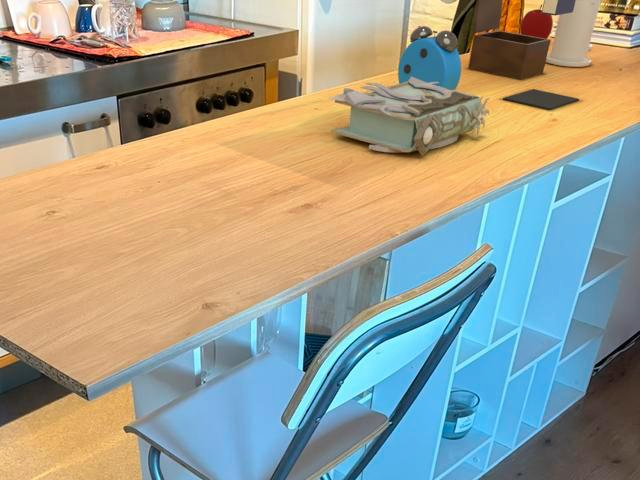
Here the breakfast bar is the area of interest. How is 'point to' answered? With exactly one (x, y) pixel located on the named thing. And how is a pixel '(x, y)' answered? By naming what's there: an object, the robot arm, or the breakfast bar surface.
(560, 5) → the book
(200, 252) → the breakfast bar surface
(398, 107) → the ornate book
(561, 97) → the mat
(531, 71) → the chest
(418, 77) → the alarm clock
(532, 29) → the apple
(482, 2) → the lid
